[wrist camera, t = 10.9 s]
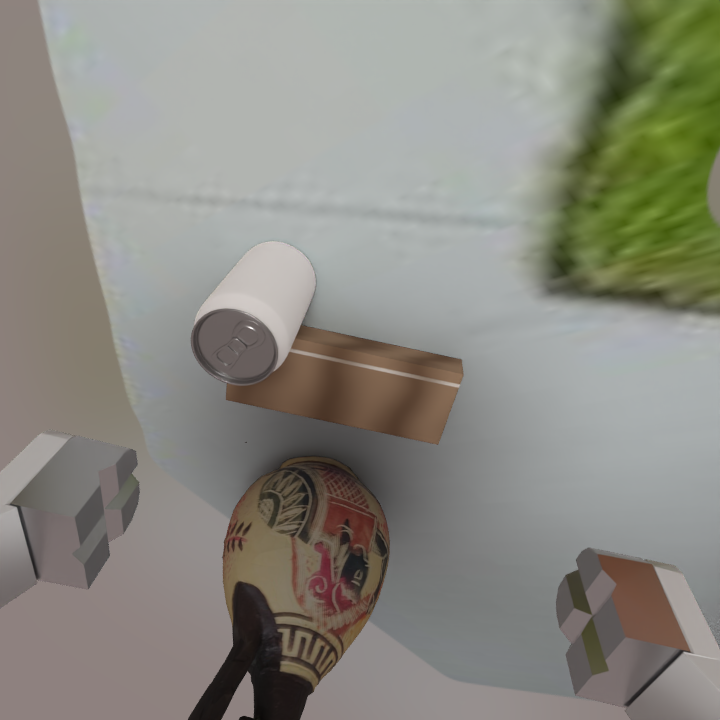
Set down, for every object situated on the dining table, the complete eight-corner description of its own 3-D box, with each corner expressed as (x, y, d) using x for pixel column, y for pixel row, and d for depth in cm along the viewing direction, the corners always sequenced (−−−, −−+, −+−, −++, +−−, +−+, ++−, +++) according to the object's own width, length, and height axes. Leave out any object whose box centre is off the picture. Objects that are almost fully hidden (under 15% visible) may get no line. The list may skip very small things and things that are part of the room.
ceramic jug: (424, 492, 53) (429, 895, 28) (324, 550, 60) (255, 919, 34) (307, 392, 48) (183, 777, 22) (211, 467, 54) (31, 832, 29)
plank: (461, 359, 44) (463, 375, 42) (437, 428, 49) (438, 445, 46) (238, 311, 44) (229, 325, 42) (234, 385, 48) (225, 400, 46)
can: (333, 278, 42) (305, 352, 31) (283, 325, 44) (243, 407, 34) (273, 222, 40) (222, 281, 29) (225, 275, 42) (164, 346, 32)
